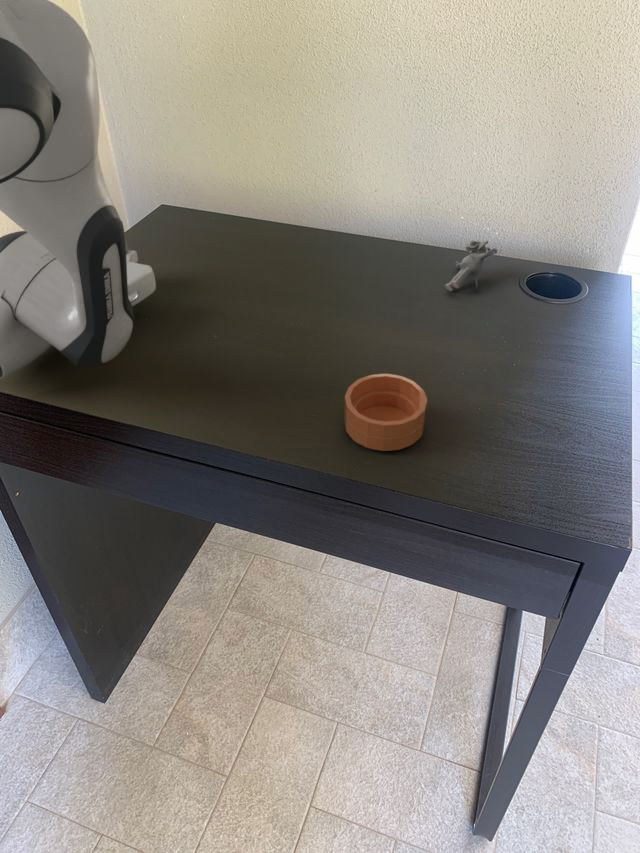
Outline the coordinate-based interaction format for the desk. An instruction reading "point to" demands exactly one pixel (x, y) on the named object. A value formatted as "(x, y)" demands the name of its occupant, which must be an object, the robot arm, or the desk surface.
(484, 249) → the grey figurine
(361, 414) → the bowl
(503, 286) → the desk surface
